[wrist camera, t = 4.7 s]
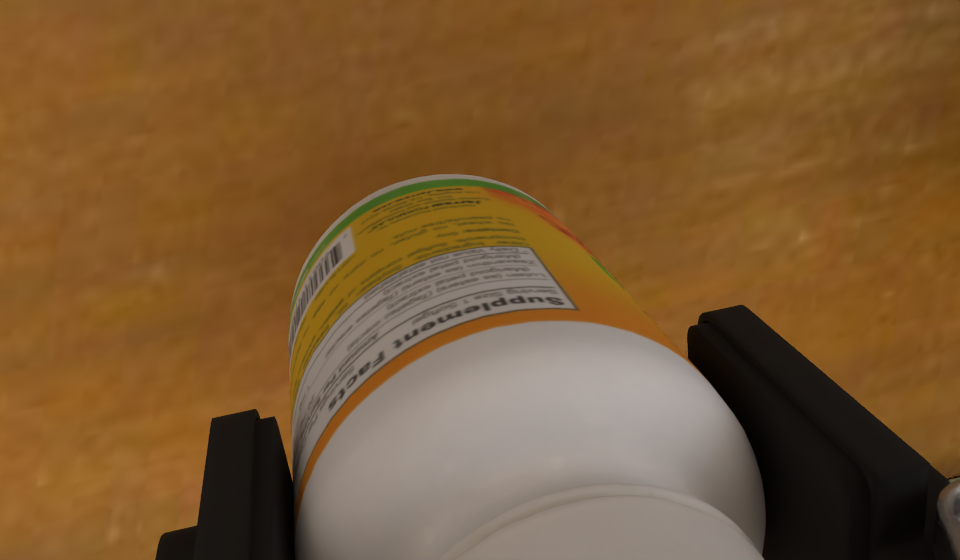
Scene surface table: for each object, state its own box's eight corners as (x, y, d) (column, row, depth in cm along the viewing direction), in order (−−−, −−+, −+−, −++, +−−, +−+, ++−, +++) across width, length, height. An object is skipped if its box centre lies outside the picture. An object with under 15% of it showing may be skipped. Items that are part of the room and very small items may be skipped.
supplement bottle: (608, 389, 18) (935, 863, 9) (342, 477, 17) (408, 1070, 8) (550, 127, 16) (908, 412, 7) (244, 220, 15) (196, 659, 6)
